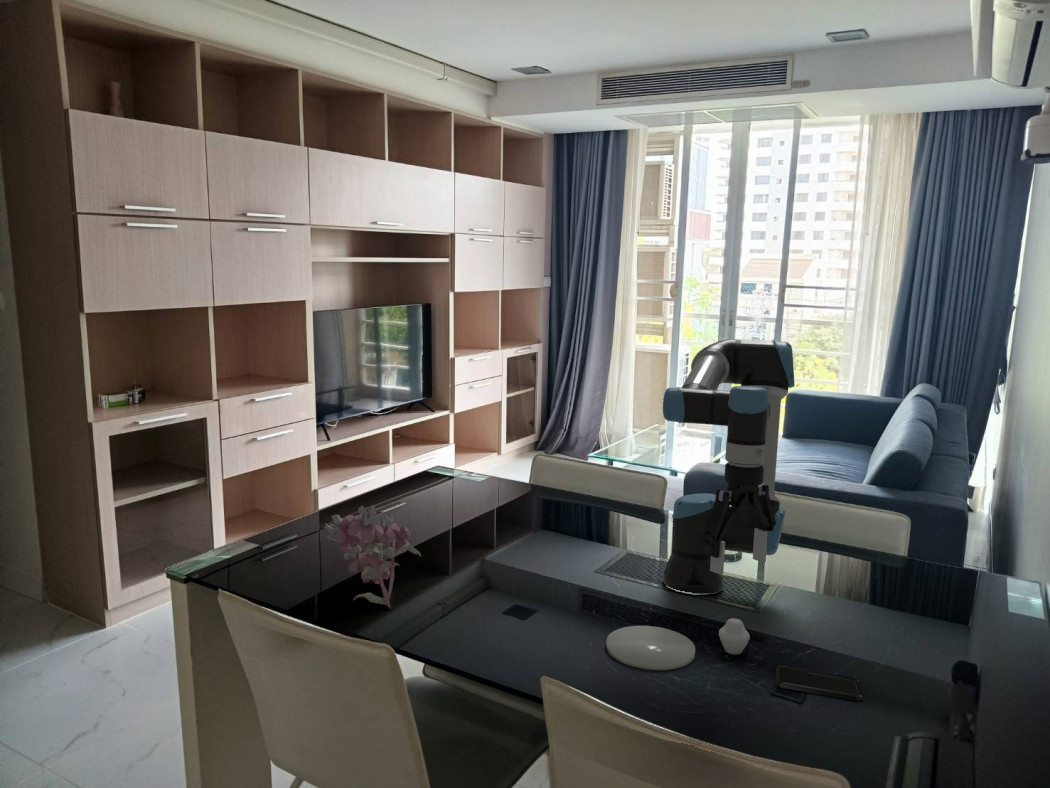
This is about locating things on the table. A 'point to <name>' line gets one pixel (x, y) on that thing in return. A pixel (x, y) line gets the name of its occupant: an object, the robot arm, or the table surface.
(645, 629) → the ceramic plate
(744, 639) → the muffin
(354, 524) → the flower
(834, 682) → the phone
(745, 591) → the table surface
